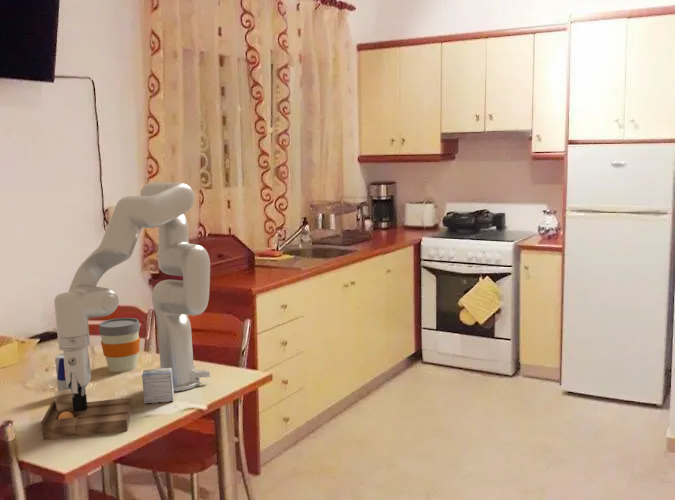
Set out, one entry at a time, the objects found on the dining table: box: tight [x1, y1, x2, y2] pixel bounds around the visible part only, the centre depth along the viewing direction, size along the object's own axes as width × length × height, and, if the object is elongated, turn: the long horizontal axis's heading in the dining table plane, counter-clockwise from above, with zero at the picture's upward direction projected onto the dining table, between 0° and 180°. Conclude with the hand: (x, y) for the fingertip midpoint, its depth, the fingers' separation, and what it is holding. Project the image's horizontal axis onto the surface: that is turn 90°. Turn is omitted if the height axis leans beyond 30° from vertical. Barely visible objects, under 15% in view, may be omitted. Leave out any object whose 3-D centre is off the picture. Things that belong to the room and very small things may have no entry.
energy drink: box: [54, 353, 72, 392], centre depth 206 cm, size 5×5×12 cm
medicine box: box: [141, 368, 175, 405], centre depth 199 cm, size 8×4×9 cm, turn 100°
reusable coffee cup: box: [98, 317, 141, 373], centre depth 230 cm, size 13×13×15 cm
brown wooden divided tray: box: [40, 397, 133, 441], centre depth 185 cm, size 20×16×4 cm
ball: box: [58, 411, 74, 419], centre depth 183 cm, size 4×4×4 cm
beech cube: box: [54, 389, 73, 411], centre depth 189 cm, size 4×4×4 cm
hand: (80, 410), depth 184 cm, fingers closed
